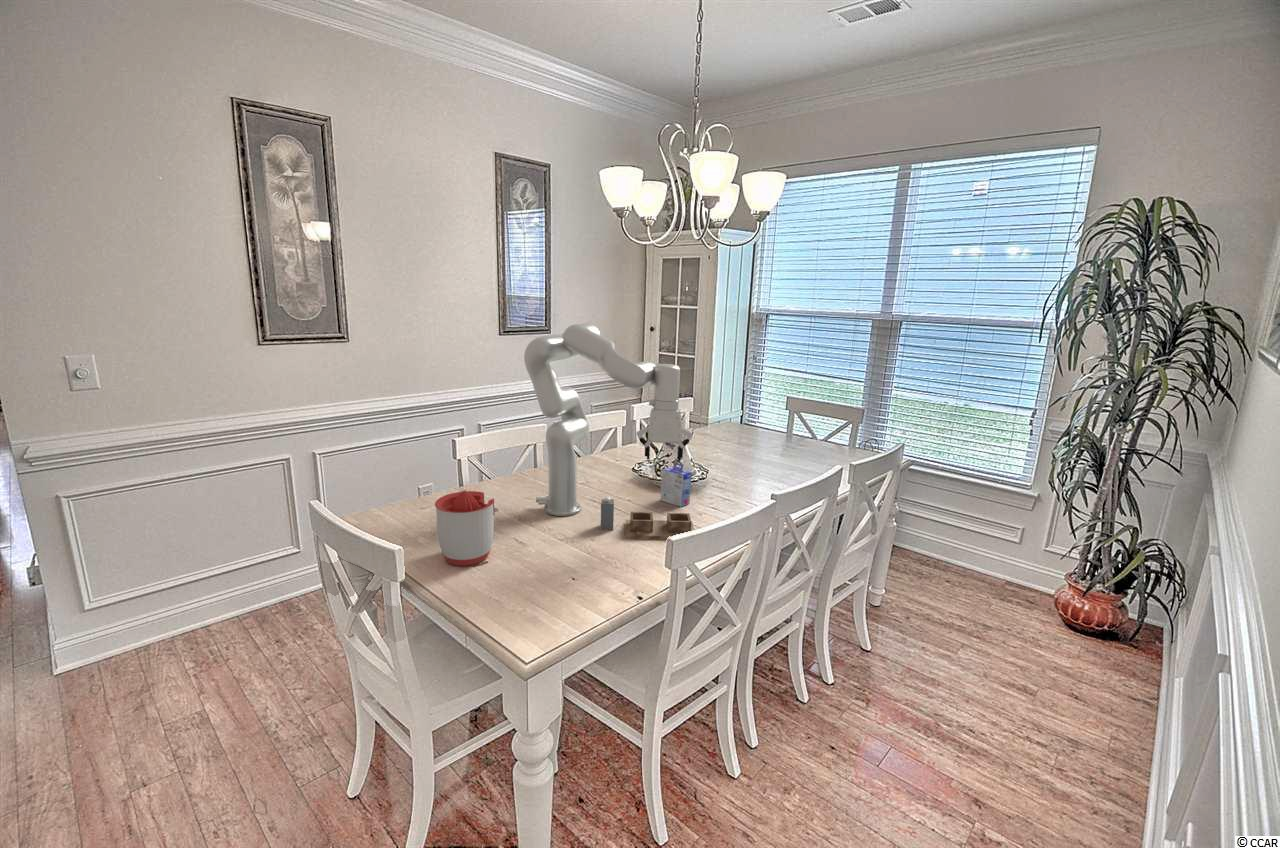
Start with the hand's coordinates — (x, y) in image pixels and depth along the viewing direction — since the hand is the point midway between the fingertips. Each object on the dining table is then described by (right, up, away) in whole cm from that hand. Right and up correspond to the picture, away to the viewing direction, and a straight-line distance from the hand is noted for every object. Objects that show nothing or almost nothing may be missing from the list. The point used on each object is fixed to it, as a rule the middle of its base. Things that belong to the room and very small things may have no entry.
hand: (663, 458), depth 174 cm
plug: (-18, -23, +7) cm, 30 cm away
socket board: (-1, -24, +6) cm, 24 cm away
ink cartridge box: (+6, -18, +31) cm, 36 cm away
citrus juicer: (-56, -27, -15) cm, 64 cm away
